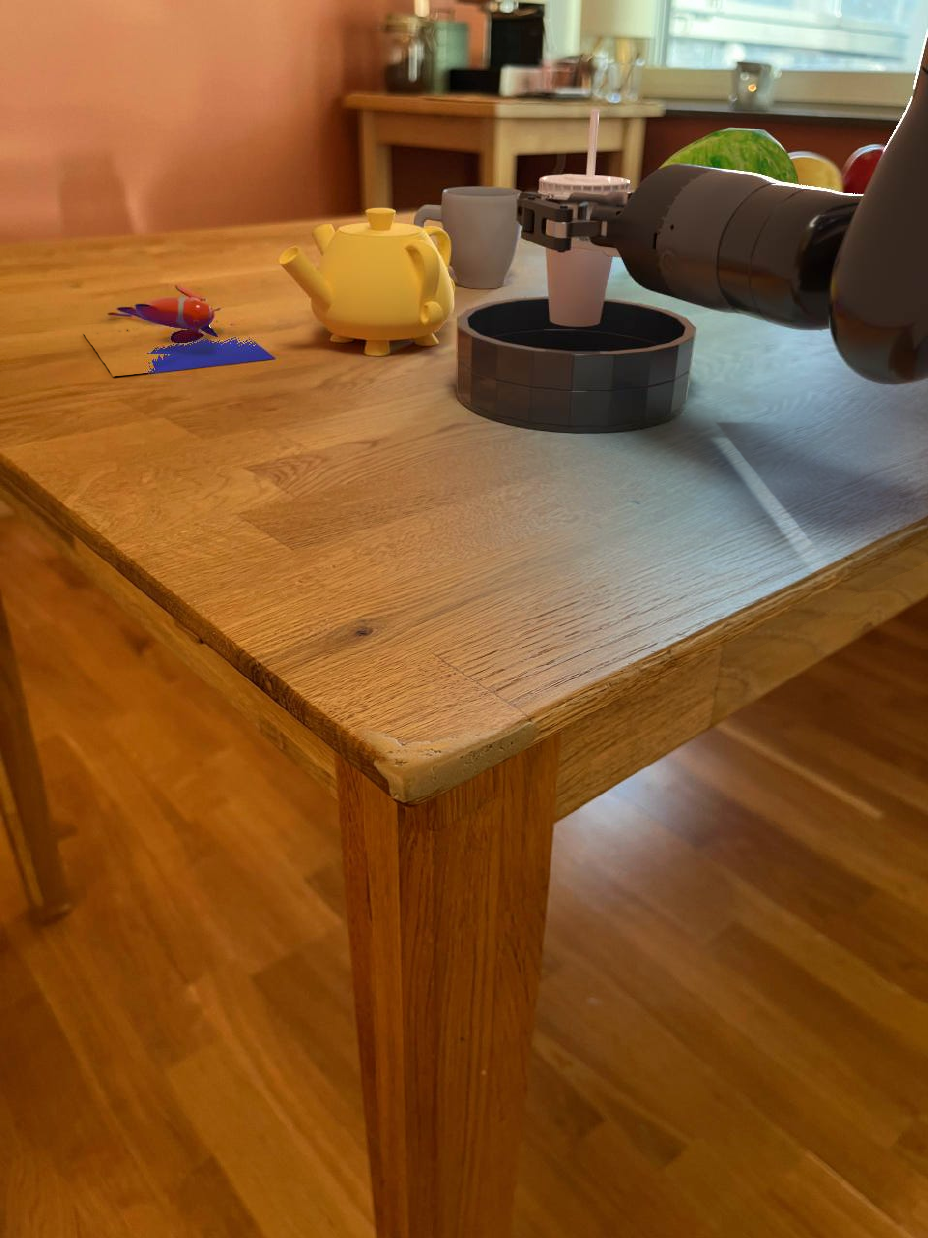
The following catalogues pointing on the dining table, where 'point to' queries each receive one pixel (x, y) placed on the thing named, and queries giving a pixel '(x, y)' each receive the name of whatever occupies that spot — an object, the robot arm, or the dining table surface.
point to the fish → (190, 333)
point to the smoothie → (579, 271)
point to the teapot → (377, 281)
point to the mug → (478, 232)
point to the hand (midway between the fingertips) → (565, 205)
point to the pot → (573, 366)
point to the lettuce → (739, 154)
